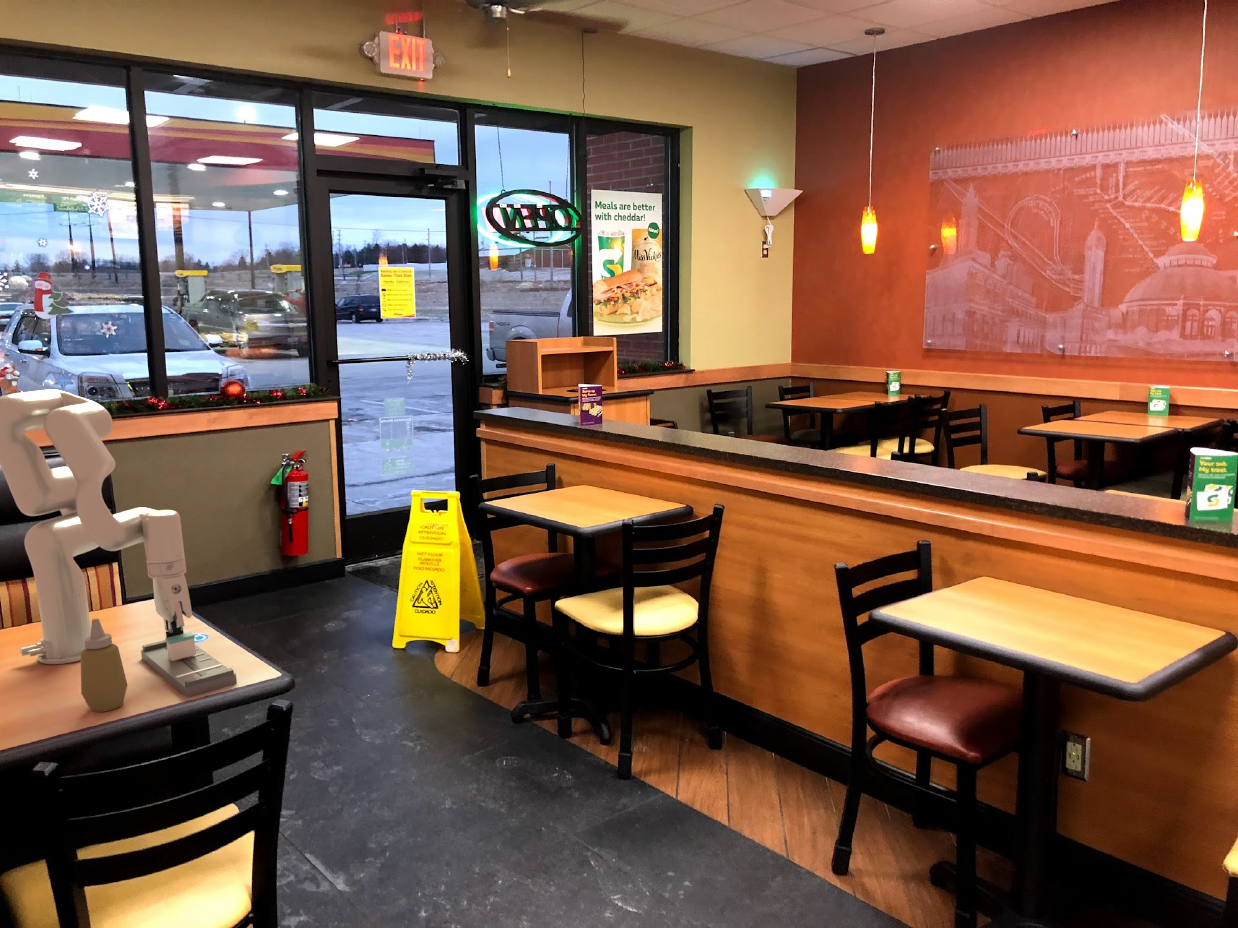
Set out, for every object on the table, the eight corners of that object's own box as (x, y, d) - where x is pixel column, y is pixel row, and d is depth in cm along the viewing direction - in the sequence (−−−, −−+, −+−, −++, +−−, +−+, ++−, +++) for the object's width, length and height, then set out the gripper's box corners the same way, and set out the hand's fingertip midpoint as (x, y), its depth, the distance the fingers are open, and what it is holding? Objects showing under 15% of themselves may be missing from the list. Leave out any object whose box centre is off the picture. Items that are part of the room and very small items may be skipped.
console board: (186, 697, 196) (185, 683, 196) (141, 658, 218) (140, 645, 218) (236, 682, 203) (235, 669, 202) (188, 647, 225) (186, 634, 224)
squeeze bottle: (83, 718, 187) (71, 629, 184) (84, 703, 195) (72, 617, 191) (130, 709, 191) (118, 621, 188) (129, 694, 198) (118, 610, 195)
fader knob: (171, 661, 209) (169, 641, 209) (167, 657, 211) (165, 638, 211) (196, 654, 213) (194, 634, 212) (192, 651, 215) (190, 631, 214)
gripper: (196, 570, 208) (206, 651, 212) (173, 557, 219) (182, 635, 223) (159, 577, 204) (170, 661, 207) (137, 564, 215) (147, 644, 218)
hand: (176, 647), depth 215 cm, fingers closed
